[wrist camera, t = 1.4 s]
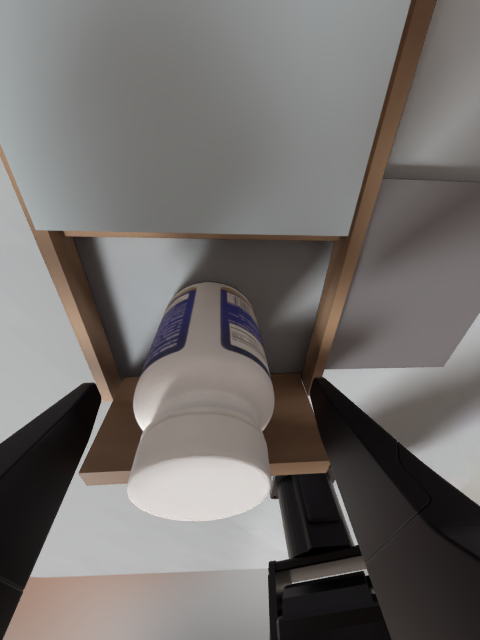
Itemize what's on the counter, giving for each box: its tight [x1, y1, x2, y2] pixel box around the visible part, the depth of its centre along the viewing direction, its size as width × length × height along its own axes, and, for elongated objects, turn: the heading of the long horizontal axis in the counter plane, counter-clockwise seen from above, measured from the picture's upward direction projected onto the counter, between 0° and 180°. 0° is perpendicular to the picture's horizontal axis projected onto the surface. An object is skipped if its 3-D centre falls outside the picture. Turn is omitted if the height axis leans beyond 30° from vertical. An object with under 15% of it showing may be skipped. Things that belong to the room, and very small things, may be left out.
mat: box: [325, 179, 480, 369], centre depth 13 cm, size 11×9×1 cm
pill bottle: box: [127, 282, 274, 521], centre depth 10 cm, size 5×5×9 cm
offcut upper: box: [0, 0, 411, 236], centre depth 6 cm, size 5×9×2 cm, turn 88°
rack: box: [0, 0, 437, 486], centre depth 10 cm, size 18×14×6 cm
